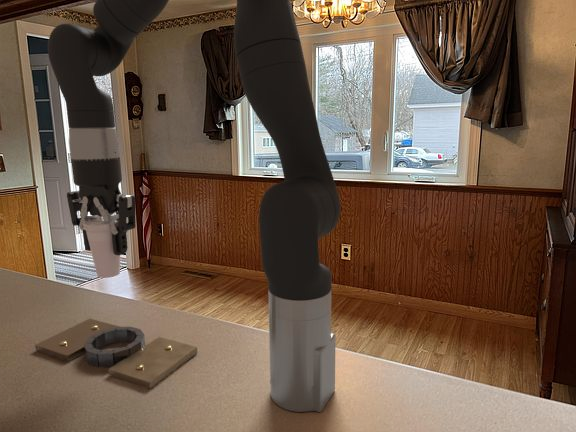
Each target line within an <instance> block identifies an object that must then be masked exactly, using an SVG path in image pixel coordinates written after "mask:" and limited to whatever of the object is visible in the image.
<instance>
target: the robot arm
mask: <svg viewBox="0 0 576 432" xmlns="http://www.w3.org/2000/svg"><path fill="white" fill-rule="evenodd" d="M169 1H170V0H96V1H95V3H94V5H93V7H92V10H93V11H92V13H93V16H94V19H95V21H96V22H97V24H98V25H97V26H96V27H94V29H91V28H86V27H83V26H79V25H77V24H72V23H60V24H58V25H56V27H54V28H53V29H52V31H51V33H50V35H49V37H48V41H47V54H48V60H49V62H50V66H51V69H52V71H53V74H54V76H55V78H56V82H57V84H58V87H59V89H60V92H61V94H62V97H63V98H64V101H65V104H66V106H65V107H66V111H67V112H66V113H67V114H66V115H67V122H68V123H67V125H68V146H69V154H70V156H69V157H70V163H71V173H72V181H73V184H74V185H75V186H78V187H79V190H75V191H69V192H67V193H66V198H67V204H68V208H69V214H70V219H71V224H72V225H73V227H75V226H77V227H79V229H80V231H82V237H83V238H82V239H83V245H84V248H85V251H88V252H91V249H90V245H89V241H88V237H87V233H86V230H84V229H83V223H84V222H85V221H88V220H91V219H97V218H98V216H101V217H102V218H103V220H104V222H105V223H108V224H109V227H110V229H111V231H112V233H113V234H112V241H113V250H114V254H115V255H120V256H121V255H124V254H126V253H127V251H128V248H129V247H128V238H127V232H128V231H130V230H134V229H135V228H136V226H137V225H136V196H135V195H134V194H132V193H131V194H122V192H121V190H120V188H119V187H120V186H119V185H120V184H121V182H122V180H123V175H122V165H121V157H120V156H121V155H120V145H119V138H118V133H117V128H116V119H115V117H116V116H115V110H114V102H113V98H112V96H111V95H110V94H109V93H107V92H106V91H104V90H101V89H100V88H99V87H98V86H97V84H96V80H95V77H103V76H107V75H109V74H110V73H113V72H114V71H115V70H116V69H117V68H118V67H119V66H120V64H121V63H122V62H123V60H124V58H125V56H126V55H127V53H128V51H129V50H130V48H131V46H132V44H133V43H134V40H135V39H136V37H138V36H139V35H140V34H141V32H144V30H145V29H146V28H147V27H148V26H149V25H150V24H151V23H152V22H153V21H154V20H156V18H157V17H159V15H160V14H161V13H162V12H163V11H164V9H165V7H167V5H168V3H169ZM291 2H292V1H291V0H236V10H235V17H234V24H233V25H234V26H233V48H234V53H235V54H234V55H235V58H236V59H235V60H236V63H237V69H238V73H239V77H240V80H241V85H242V89H243V92H244V95H245V96H246V99H247V101H248V102H249V105H250V106H251V108H252V110H253V112H254V113H255V115H256V117H257V118H258V119H259V121H260V123H261V124H262V126H263V127H264V128H265V130H266V132H267V133H268V135H269V136H270V137H271V140H272V141H273V143H274V146H275V149H276V150H277V154H278V157H279V159H280V164H281V168H282V173H283V178H284V180H283V181H281V182H278V183H275V184H273V185H271V186H270V187H268V188H267V190H266V191H265V192H264V193H263V196H262V198H261V202H260V203H259V204H260V205H259V212H258V225H259V228H258V229H259V240H260V255H261V264H262V268H263V269H262V270H263V272H264V274H265V277H266V280H267V286H268V288H267V289H268V297H267V298H268V330H269V331H268V335H269V336H268V337H269V339H268V340H269V341H268V342H269V372H270V373H269V377H270V379H269V384H270V397H271V400H273V402H274V403H275V404H276V405H277V406H278V407H280V408H282V409H284V410H287V411H291V412H298V413H299V412H303V413H304V412H305V413H306V412H311V411H315V412H318V413H321V412H323V410H324V408H325V407H326V405H327V404H328V402H329V400H330V398H331V397H332V396H333V394H334V392H335V389H336V341H337V340H336V334H335V333H334V332H332V287H333V286H332V284H333V283H332V282H333V281H332V279H333V278H332V272H331V270H330V268H329V267H327V266H326V265H324V264H322V263H320V254H319V253H320V252H319V251H320V250H319V239H322V238H324V237H325V236H326V235H329V234H330V233H332V232H333V230H334V229H335V228H336V227H337V226H338V224H339V221H340V217H341V211H342V210H341V199H340V196H339V195H340V194H339V192H338V188H337V184H336V182H335V179H334V176H333V172H332V170H331V167H330V164H329V161H328V158H327V157H328V156H327V154H326V151H325V148H324V144H323V141H322V137H321V133H320V130H319V129H320V128H319V125H318V124H319V123H318V120H317V114H316V110H315V105H314V101H313V97H312V93H311V88H310V83H309V78H308V71H307V65H306V62H305V61H306V60H305V57H304V52H303V47H302V46H303V45H302V42H301V39H300V35H299V31H298V27H297V21H296V18H295V15H294V10H293V6H292V3H291ZM78 212H79V215H78ZM115 221H117V222H119V226H117V225H116V223H115Z"/></svg>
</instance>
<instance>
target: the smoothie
mask: <svg viewBox="0 0 576 432" xmlns="http://www.w3.org/2000/svg"><path fill="white" fill-rule="evenodd" d="M115 223H116V225H117V226H119V222H117V221H115ZM83 229H84V230H86V233H87V237H88V241H89V245H90V249H91V251H90V252H91V257H92V259H93V260H92V261H93V264H94V268H95V272H96V275H97V277H98V278H101V279H108V278H113V277H117V276H119V275H120V274H121V273H120V272H121V255H115V254H114V250H113V241H112V234H113V233H112V231H111V229H110V227H109V224H108V223H105V222H104V220H103V218H102V217H101V216H98V218H97V219H91V220H90V219H89V220H88V221H85V222H84V223H83Z"/></svg>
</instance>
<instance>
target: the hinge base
mask: <svg viewBox="0 0 576 432" xmlns="http://www.w3.org/2000/svg"><path fill="white" fill-rule="evenodd" d="M144 333H145V332H143V331H142V329H141V328H136V327H134V326H119V325H115V324H112V323H107V322H104V321H99V320H97V319H96V320H95V319H94V318H93V319H92V318H88V319H86V320H84V321H82V322H80V323H77V324H76V325H74V326H72V327H69V328H67V329H65V330H63V331H61V332H59V333H57V334H55V335H52V336H51V337H49V338H45V340H42V341H39V343H36V344H35V345H34V347H35V352H38V353H42V354H44V355H48V356H50V357H53V358H57V359H59V360H63V361H66V362H68V363H69V362H71V361H72V360H74V359H77V358H78V357H80V356H82V355H83V354H84V356H85V357H84V358H85V360H86V363H87V364H88V365H91V366H94V367H96V368H108V376H110V377H113V378H116V379H119V380H122V381H124V382H128V383H131V384H133V385H136V386H140V387H143V388H145V389H149V390H151V389H153V388H154V387H155V386H156V385H158V384H159V383H160V382H162V381H163V380H165V378H167V377H168V376H170V375H171V374H172V373H174V371H176V370H178V368H180V367H182V365H184V364H185V363H186V362H187V361H189V360H190V359H191V358H193V357H194V356H195V355H197V354H198V346H195V345H192V344H187V343H184V342H180V341H176V340H172V339H168V338H164V337H161V336H158V337H157V338H155V339H154V340H152V341H150V342H149V343H148V344H146V340H145V334H144ZM118 342H121V343H123V342H129V344H127V345H126V346H123V347H119V348H115V349H105V350H104V349H103V350H102V348H103V347H104V346H105V347H106V346H108V345H110V344H114V343H118Z"/></svg>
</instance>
